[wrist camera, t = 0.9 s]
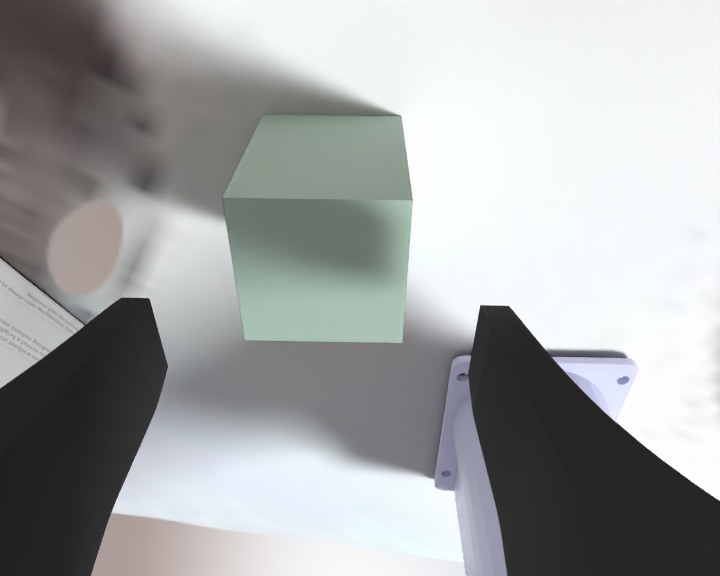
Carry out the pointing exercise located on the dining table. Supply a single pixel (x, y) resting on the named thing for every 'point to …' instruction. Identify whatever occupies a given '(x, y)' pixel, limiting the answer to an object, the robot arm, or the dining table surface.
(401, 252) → the green column
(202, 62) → the dining table surface
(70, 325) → the skincare box
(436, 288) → the dining table surface
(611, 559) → the robot arm
